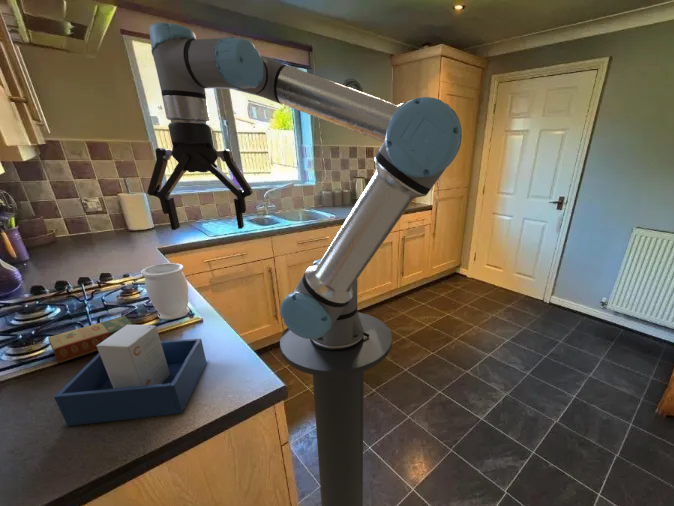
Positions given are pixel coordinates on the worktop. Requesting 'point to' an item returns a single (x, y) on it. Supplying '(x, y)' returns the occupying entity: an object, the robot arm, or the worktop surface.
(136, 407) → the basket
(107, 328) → the carton
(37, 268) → the worktop surface
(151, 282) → the jar
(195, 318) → the worktop surface
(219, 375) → the worktop surface
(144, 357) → the small box
